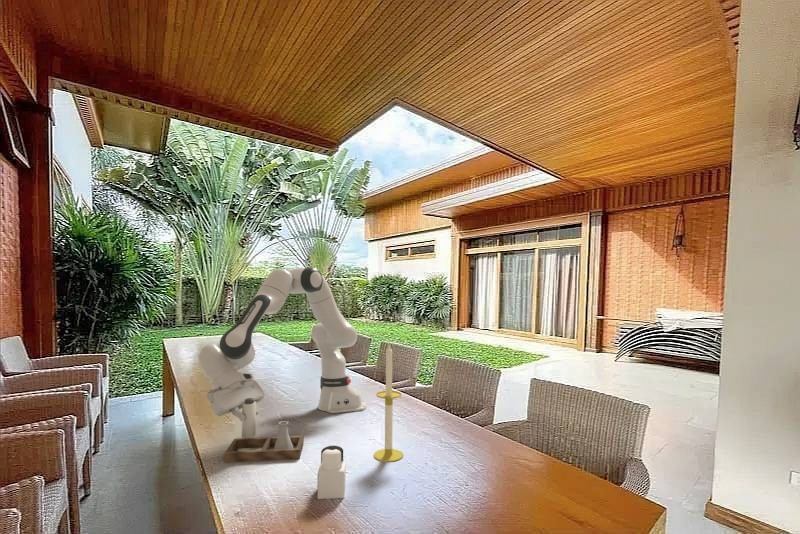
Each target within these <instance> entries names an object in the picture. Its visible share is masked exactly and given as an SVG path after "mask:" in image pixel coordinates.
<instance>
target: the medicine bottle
mask: <svg viewBox="0 0 800 534" xmlns="http://www.w3.org/2000/svg"><path fill="white" fill-rule="evenodd" d="M320 453H321V454H320V463H319V465H318V466H319V467H318V470H317V490H316V491H317V495H316V496H317V500H327V499H328V500H332V499H333V500H334V499H344V498H345V493H346V474H347V472H346V469H347V467H346V466H347V465H346V462H347V461H346V460H344V448H342V447H341V446H339V445H328V446H326V447H323V448H322V449H321V452H320Z"/></svg>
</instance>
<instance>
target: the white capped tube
mask: <svg viewBox="0 0 800 534" xmlns="http://www.w3.org/2000/svg"><path fill="white" fill-rule="evenodd" d="M241 413H245V414H246V416H247V418H246V419H245V420H243V421H241V438H255V437H256V434H257V433H256V429H257V426H256V425H257V415H256V402H255V401H254V398H247V399H245V403H243V404H242V408H241Z"/></svg>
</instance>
